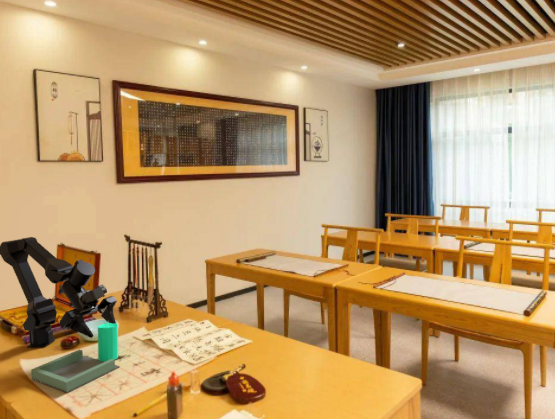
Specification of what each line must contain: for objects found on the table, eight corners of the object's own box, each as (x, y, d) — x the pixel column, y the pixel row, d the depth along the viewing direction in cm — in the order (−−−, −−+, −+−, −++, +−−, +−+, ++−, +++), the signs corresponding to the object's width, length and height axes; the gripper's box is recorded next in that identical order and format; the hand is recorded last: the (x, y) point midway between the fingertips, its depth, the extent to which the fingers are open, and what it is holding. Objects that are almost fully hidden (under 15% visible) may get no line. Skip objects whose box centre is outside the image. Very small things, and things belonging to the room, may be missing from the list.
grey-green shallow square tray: (84, 356, 140) (83, 347, 139) (119, 367, 131) (118, 357, 131) (31, 379, 125) (31, 369, 125) (67, 393, 116) (66, 382, 116)
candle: (111, 362, 134) (111, 323, 134) (94, 360, 135) (93, 322, 135) (121, 355, 140) (121, 318, 140) (105, 353, 141) (104, 317, 141)
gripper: (62, 286, 130) (91, 326, 126) (110, 272, 146) (137, 307, 143) (47, 309, 134) (75, 348, 130) (96, 293, 151) (122, 327, 147)
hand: (104, 331), depth 137 cm, fingers open, 9 cm apart
